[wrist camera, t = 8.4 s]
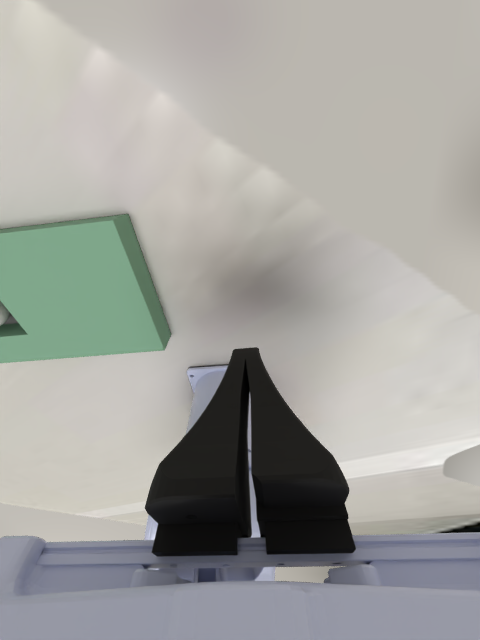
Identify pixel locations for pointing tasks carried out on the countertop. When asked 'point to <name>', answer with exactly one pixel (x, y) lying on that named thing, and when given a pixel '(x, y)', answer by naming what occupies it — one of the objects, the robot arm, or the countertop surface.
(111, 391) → the countertop surface
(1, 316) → the ball
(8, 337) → the green
